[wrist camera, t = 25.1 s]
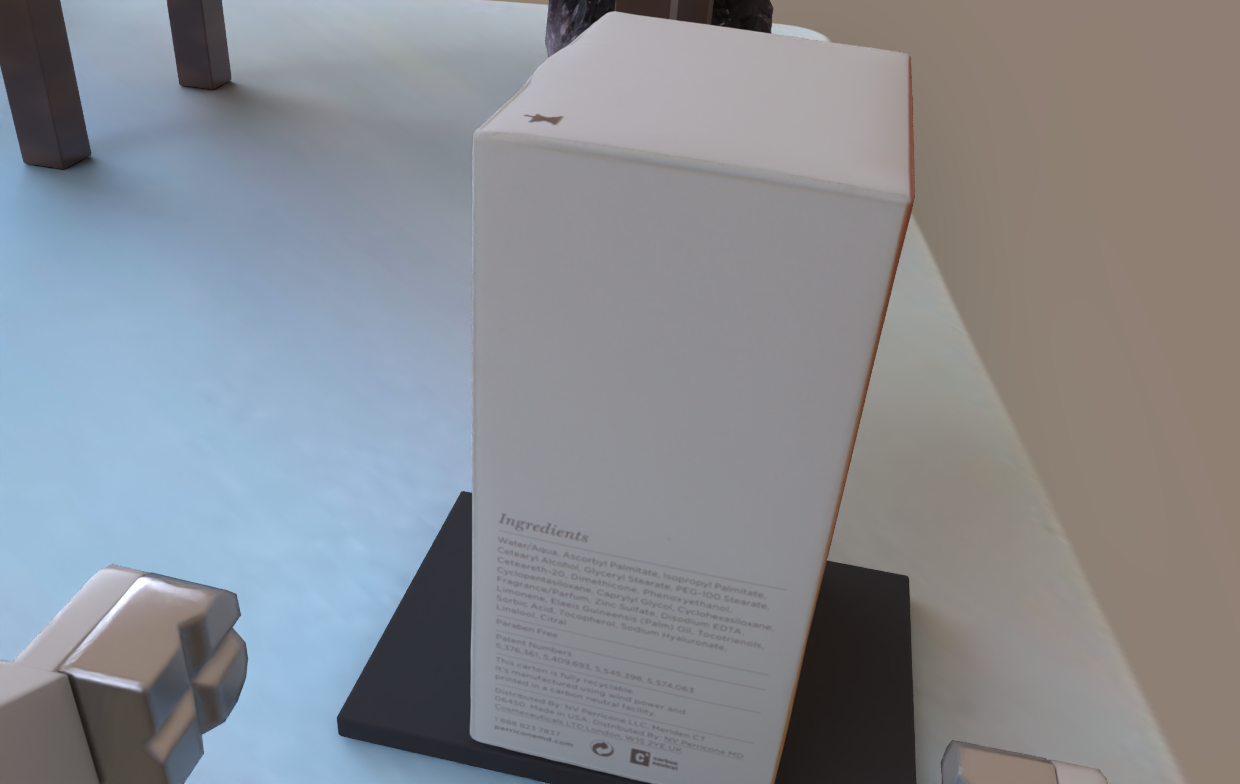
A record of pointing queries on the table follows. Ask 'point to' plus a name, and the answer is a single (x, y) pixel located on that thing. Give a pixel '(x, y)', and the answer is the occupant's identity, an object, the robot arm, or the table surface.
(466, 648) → the mat
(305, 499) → the table surface
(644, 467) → the small box
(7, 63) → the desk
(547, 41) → the crystal cluster
